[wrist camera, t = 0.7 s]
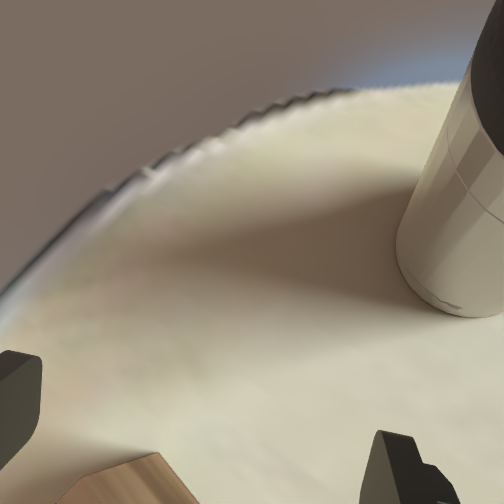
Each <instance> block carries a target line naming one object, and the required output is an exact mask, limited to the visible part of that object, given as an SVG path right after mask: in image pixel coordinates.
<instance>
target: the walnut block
mask: <svg viewBox="0 0 504 504" xmlns="http://www.w3.org/2000/svg"><path fill="white" fill-rule="evenodd" d="M56 504H200V503H199V502H198V501H197V500H196V498H195V497H194V496H193V495H192V493H191V492H190V491H189V490H188V488H187V487H186V486H185V485H184V483H183V482H182V481H181V480H180V478H179V477H178V476H177V475H176V473H175V472H174V471H173V470H172V468H171V467H170V466H169V465H168V463H167V462H166V461H165V460H164V458H163V457H162V456H161V455H160V453H159V452H158V453H155V454H152V455H149V456H146V457H143V458H140V459H137V460H133V461H130V462H127V463H124V464H121V465H118V466H115V467H112V468H109V469H106V470H103V471H100V472H97V473H94V474H90V475H87V476H84V477H82V478H81V479H80V480H79V481H78V482H77V483H76V484H75V485H74V486H73V487H72V488H71V489H70V490H69V491H68V492H67V493H66V494H65V495H64V496H63V497H62V498H61V499H60V500H59V501H58V502H57V503H56Z"/></svg>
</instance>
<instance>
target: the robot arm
mask: <svg viewBox="0 0 504 504" xmlns="http://www.w3.org/2000/svg"><path fill="white" fill-rule="evenodd" d="M395 249H396V256H397V262H398V264H399V267H400V270H401V272H402V275H403V276H404V278H405V279H406V281H407V283H408V284H409V286H410V287H411V288H412V289H413V290H414V291H415V292H416V293H417V294H418V295H419V296H420V297H421V298H422V299H423V300H425V301H426V302H428V303H429V304H431V305H432V306H433V307H435V308H438V309H440V310H442V311H444V312H447V313H449V314H453V315H458V316H462V317H478V318H482V317H488V316H493V315H498V314H500V313H503V312H504V0H496V1H495V4H494V6H493V8H492V10H491V12H490V14H489V16H488V19H487V21H486V23H485V26H484V28H483V30H482V33H481V35H480V38H479V40H478V42H477V45H476V48H475V51H474V53H473V55H472V57H471V60H470V62H469V64H468V67H467V69H466V72H465V74H464V76H463V78H462V81H461V83H460V85H459V88H458V90H457V92H456V95H455V97H454V99H453V102H452V104H451V107H450V110H449V112H448V114H447V116H446V119H445V121H444V123H443V126H442V128H441V130H440V133H439V135H438V137H437V140H436V142H435V144H434V146H433V149H432V151H431V153H430V156H429V158H428V160H427V163H426V165H425V167H424V170H423V172H422V174H421V176H420V179H419V181H418V183H417V186H416V188H415V190H414V193H413V195H412V197H411V199H410V201H409V204H408V206H407V208H406V211H405V213H404V215H403V218H402V220H401V223H400V226H399V229H398V232H397V235H396V246H395ZM41 381H42V361H41V358H40V357H38V356H34V355H30V354H25V353H20V352H15V351H11V350H6V351H4V352H2V353H1V354H0V470H1V469H2V468H3V467H4V466H5V465H6V464H7V463H8V462H9V461H10V460H11V459H12V458H13V457H14V455H15V454H16V453H17V452H18V451H19V450H20V449H21V448H22V447H23V446H24V445H25V444H26V443H27V442H28V441H29V439H30V438H31V436H32V434H33V433H34V431H35V428H36V426H37V423H38V419H39V413H40V398H41ZM359 504H460V501H459V499H458V497H457V494H456V492H455V490H454V488H453V485H452V484H451V483H450V482H449V481H448V479H447V478H446V477H445V476H444V475H443V474H442V473H441V472H440V470H439V469H438V468H437V467H436V466H434V465H429V464H425V463H423V462H422V459H421V457H420V454H419V451H418V448H417V446H416V443H415V441H414V439H413V437H411V436H406V435H401V434H397V433H392V432H387V431H382V430H378V431H377V432H376V434H375V437H374V440H373V444H372V448H371V452H370V456H369V460H368V463H367V467H366V471H365V475H364V479H363V483H362V487H361V492H360V499H359Z"/></svg>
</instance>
